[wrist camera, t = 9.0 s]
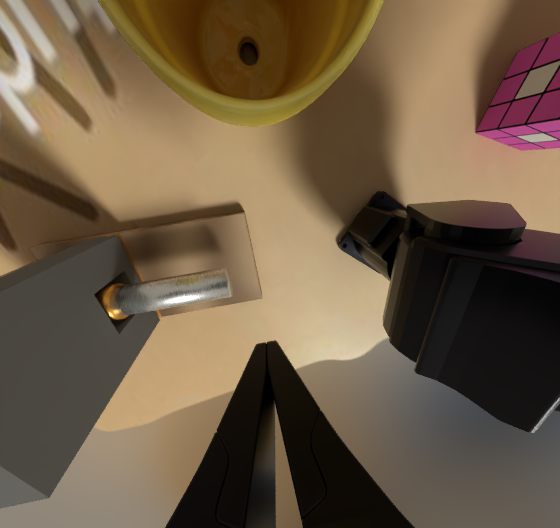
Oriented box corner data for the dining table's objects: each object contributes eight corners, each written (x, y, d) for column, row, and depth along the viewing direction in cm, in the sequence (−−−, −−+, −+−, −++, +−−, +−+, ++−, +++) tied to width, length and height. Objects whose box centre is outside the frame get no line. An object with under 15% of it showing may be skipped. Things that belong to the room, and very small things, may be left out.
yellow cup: (348, 26, 14) (498, -196, 6) (275, 168, 18) (297, 168, 9) (204, -117, 11) (29, -1130, 2) (148, 86, 15) (-16, -39, 6)
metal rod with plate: (223, 228, 18) (204, 267, 11) (241, 294, 21) (234, 358, 14) (42, 258, 18) (-106, 320, 10) (86, 321, 21) (-4, 404, 13)
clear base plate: (244, 211, 19) (243, 213, 18) (261, 293, 23) (262, 299, 22) (39, 244, 18) (27, 248, 17) (94, 323, 22) (86, 330, 21)
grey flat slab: (117, 235, 17) (-153, 366, 6) (159, 319, 21) (49, 497, 10) (87, 239, 17) (-247, 383, 6) (135, 324, 21) (-5, 509, 10)
